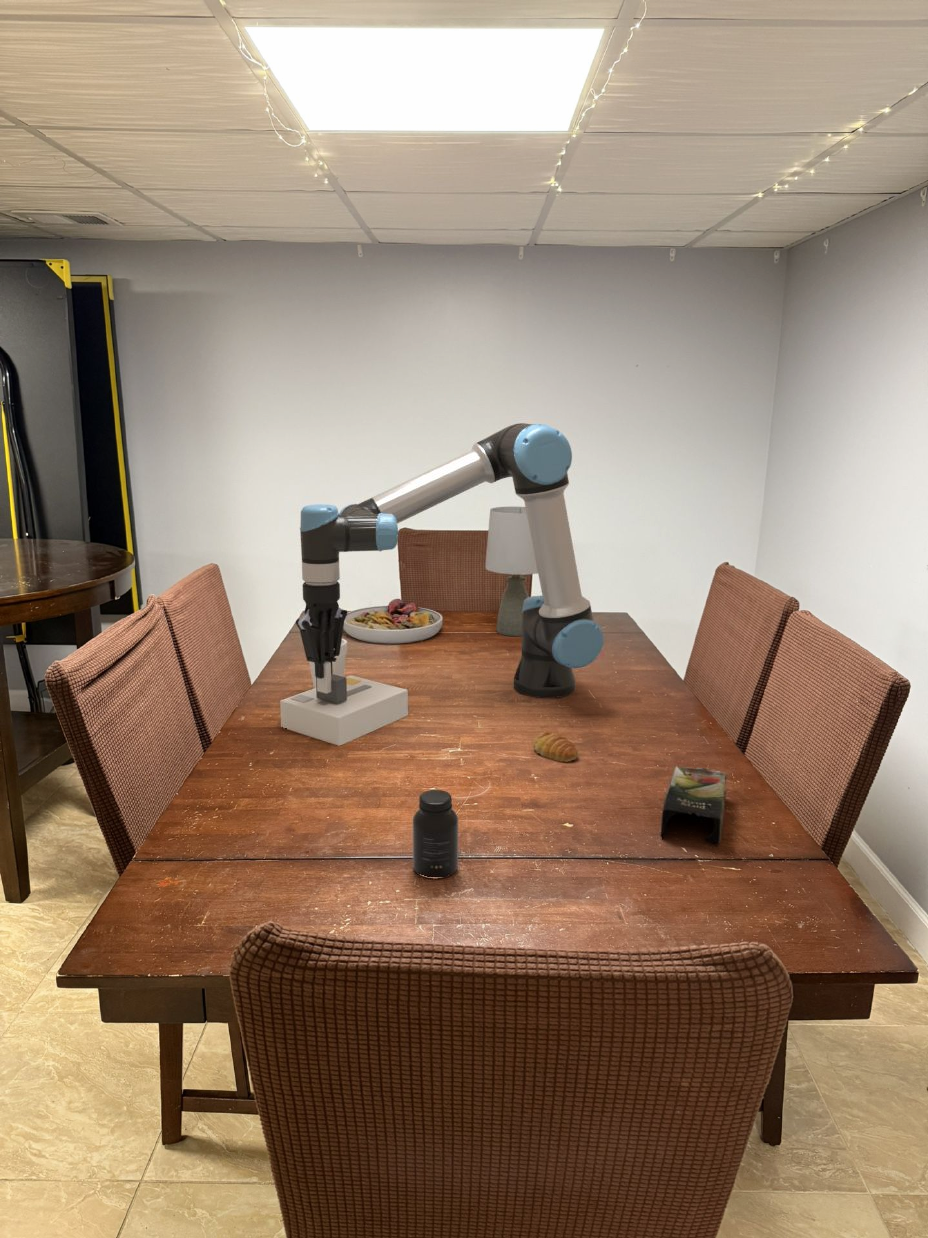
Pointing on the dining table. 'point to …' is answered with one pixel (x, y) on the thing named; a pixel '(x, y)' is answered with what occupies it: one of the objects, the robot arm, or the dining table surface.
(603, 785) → the dining table surface
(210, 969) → the dining table surface
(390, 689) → the switch panel
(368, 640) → the bowl
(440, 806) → the supplement bottle
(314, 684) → the foam cup
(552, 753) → the pastry
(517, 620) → the lamp
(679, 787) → the juice carton
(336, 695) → the knob
